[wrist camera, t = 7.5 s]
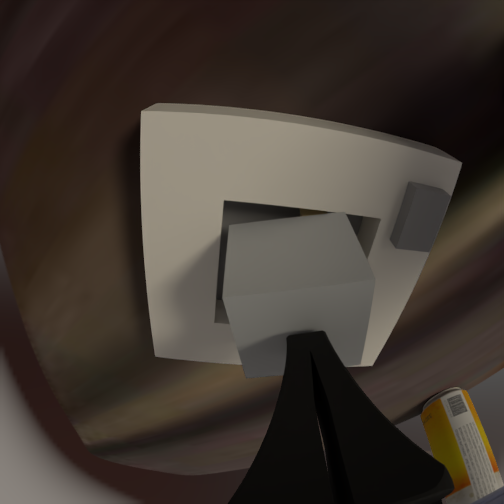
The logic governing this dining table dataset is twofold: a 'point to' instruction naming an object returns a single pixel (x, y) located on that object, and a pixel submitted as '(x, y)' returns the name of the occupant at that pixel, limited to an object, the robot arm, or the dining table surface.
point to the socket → (275, 210)
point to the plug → (296, 288)
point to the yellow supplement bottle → (461, 445)
